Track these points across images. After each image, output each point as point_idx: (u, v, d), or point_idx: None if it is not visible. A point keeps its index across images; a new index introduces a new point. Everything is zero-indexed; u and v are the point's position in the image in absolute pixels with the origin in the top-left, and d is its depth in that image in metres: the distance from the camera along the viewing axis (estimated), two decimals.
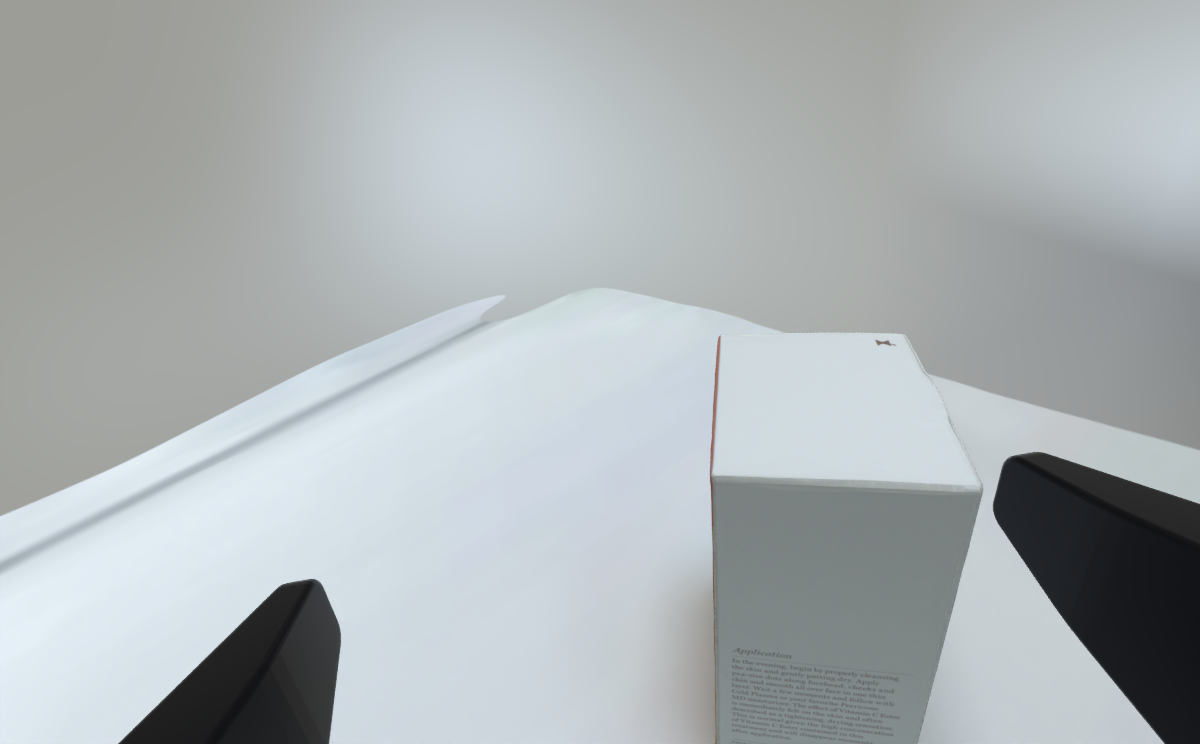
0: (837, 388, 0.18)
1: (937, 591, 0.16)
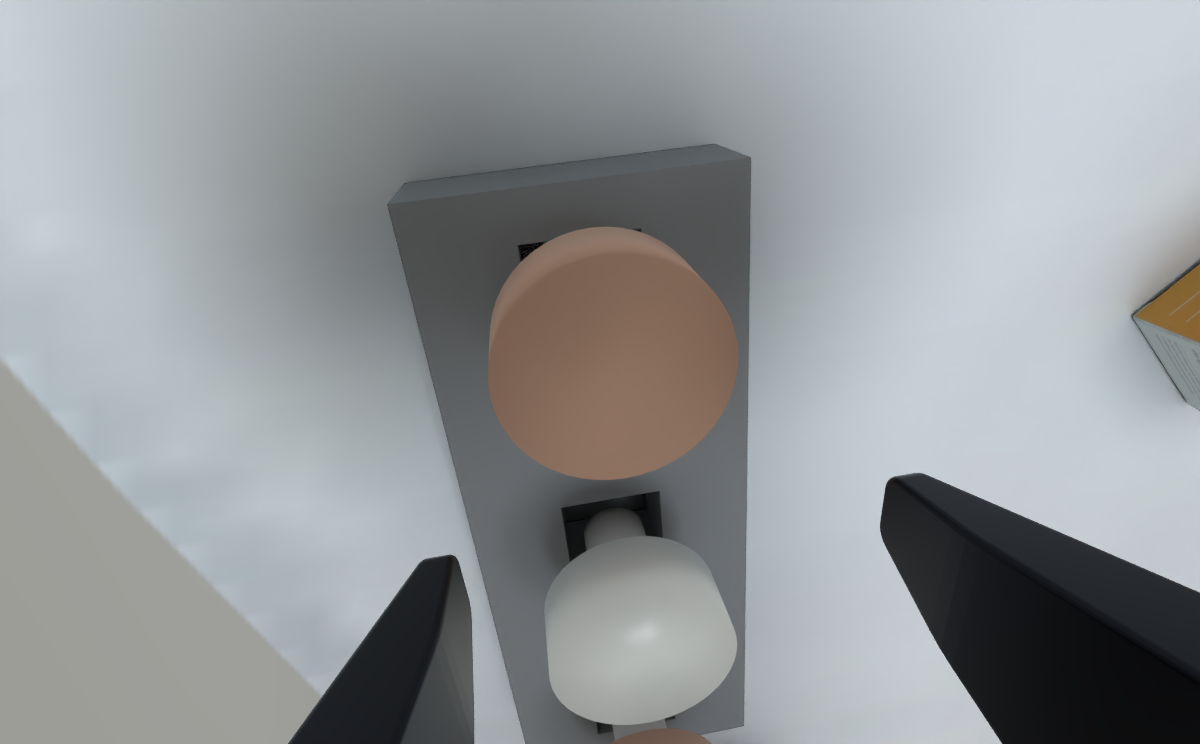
0: None
1: None
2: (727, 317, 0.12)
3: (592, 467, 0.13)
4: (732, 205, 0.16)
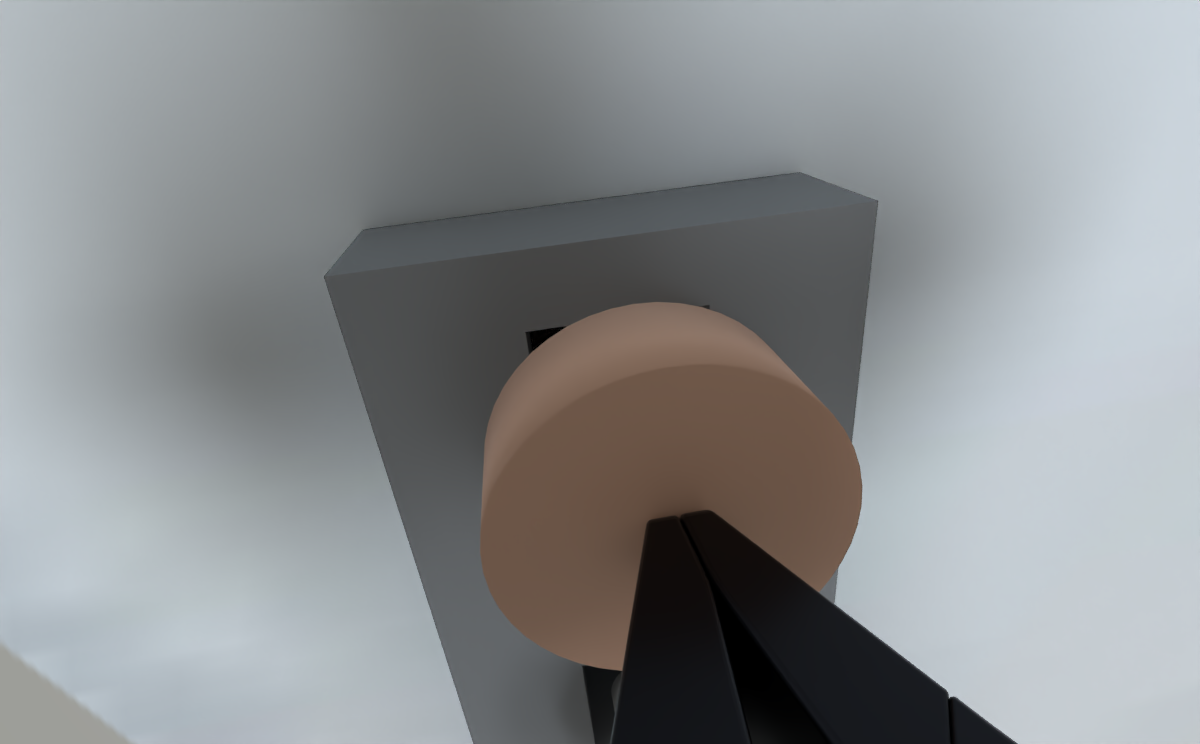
0: None
1: None
2: (851, 452, 0.08)
3: None
4: (844, 270, 0.11)
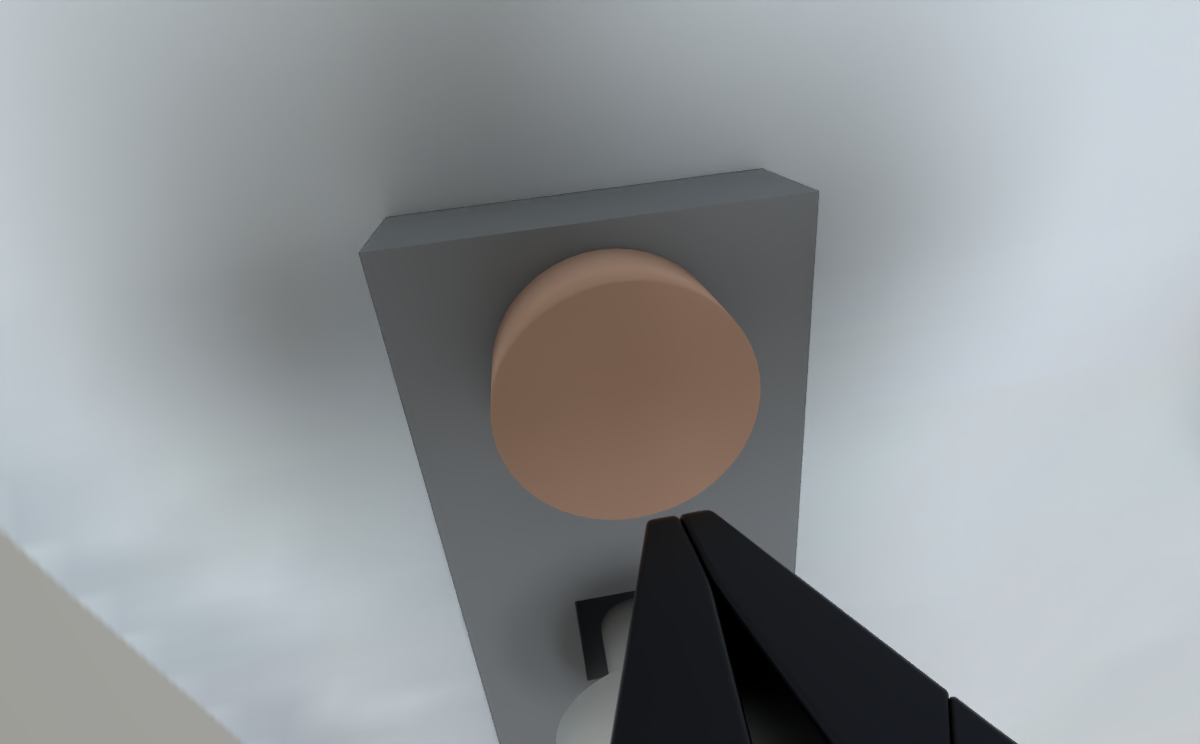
0: None
1: None
2: (749, 348, 0.11)
3: (602, 506, 0.12)
4: (793, 249, 0.13)
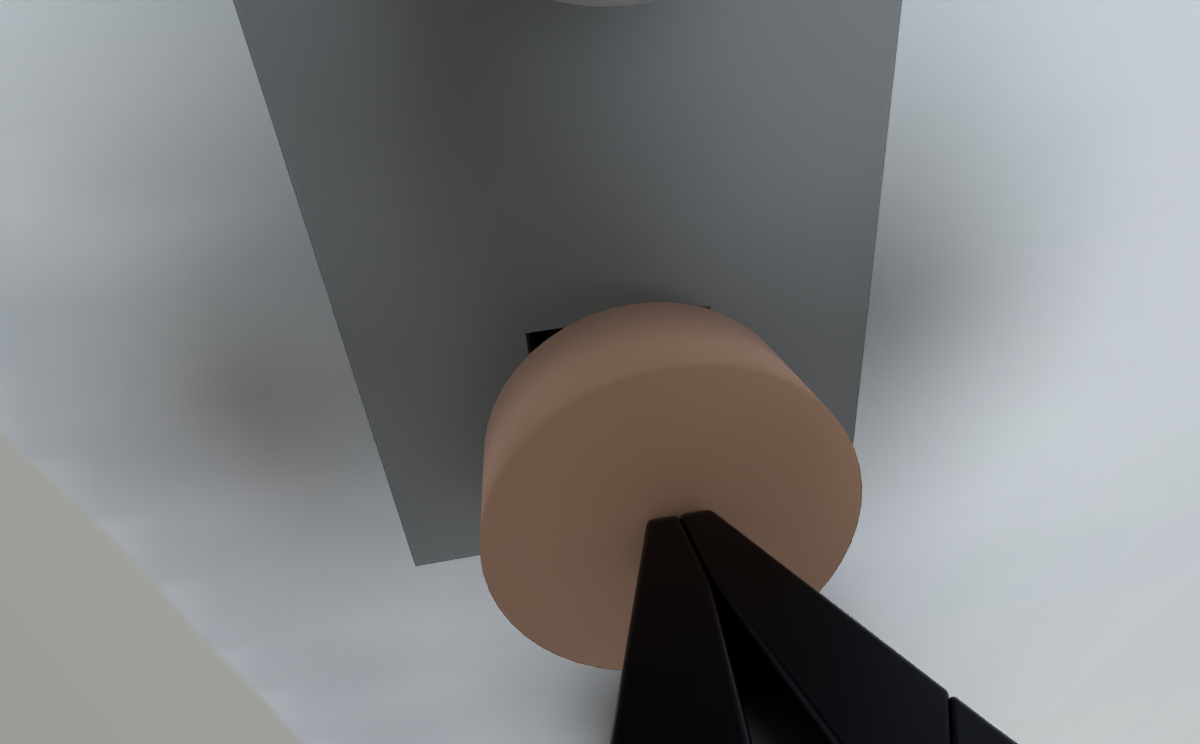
0: None
1: None
2: None
3: None
4: None
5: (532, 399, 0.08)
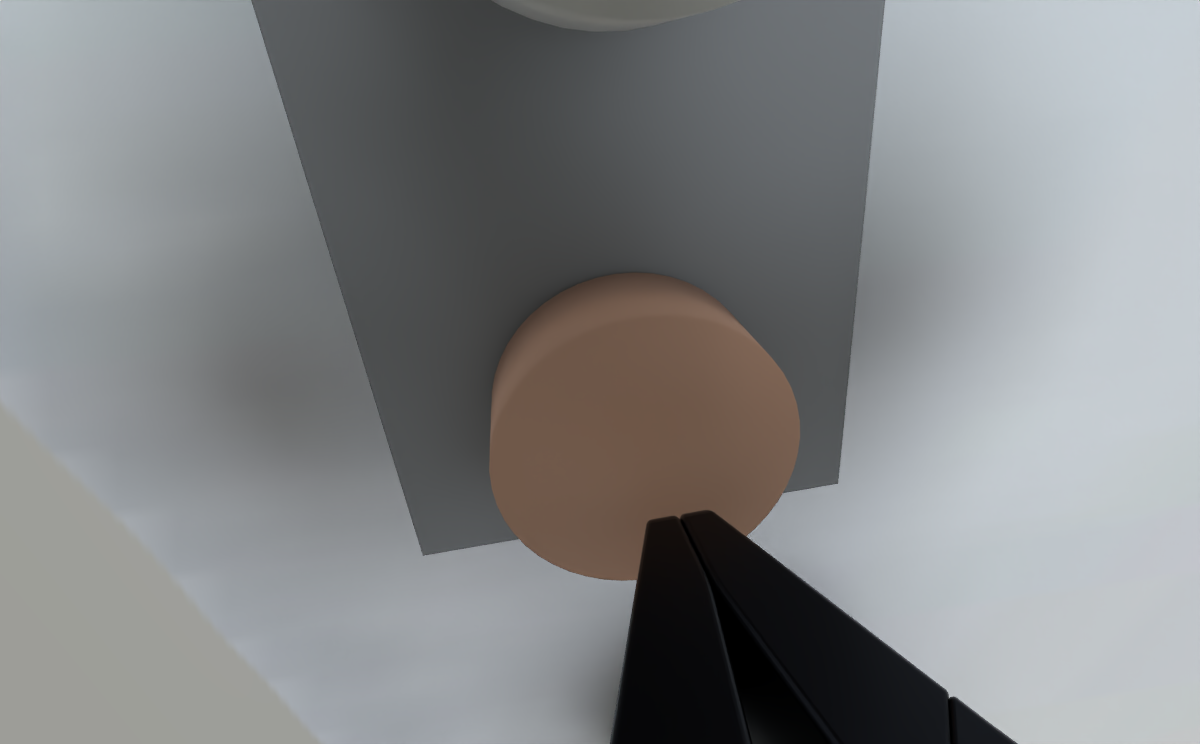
0: None
1: None
2: None
3: None
4: None
5: (531, 347, 0.09)
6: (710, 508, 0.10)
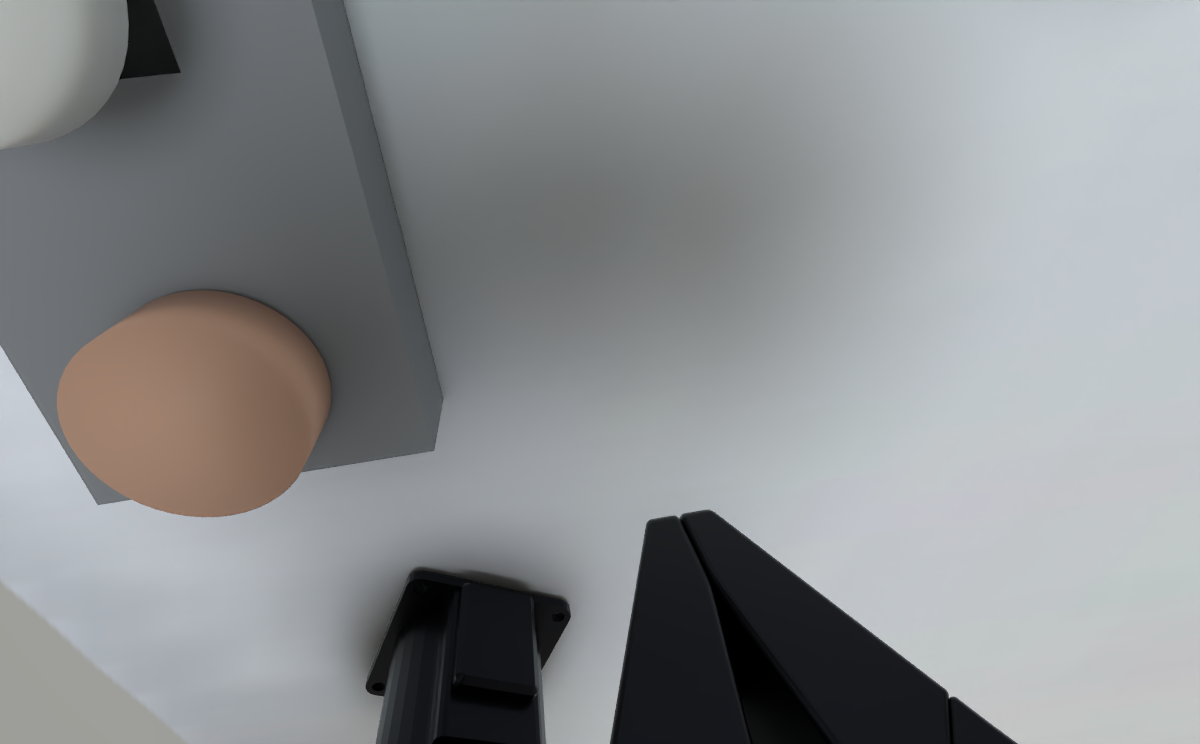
0: None
1: None
2: None
3: None
4: None
5: None
6: (253, 462, 0.14)
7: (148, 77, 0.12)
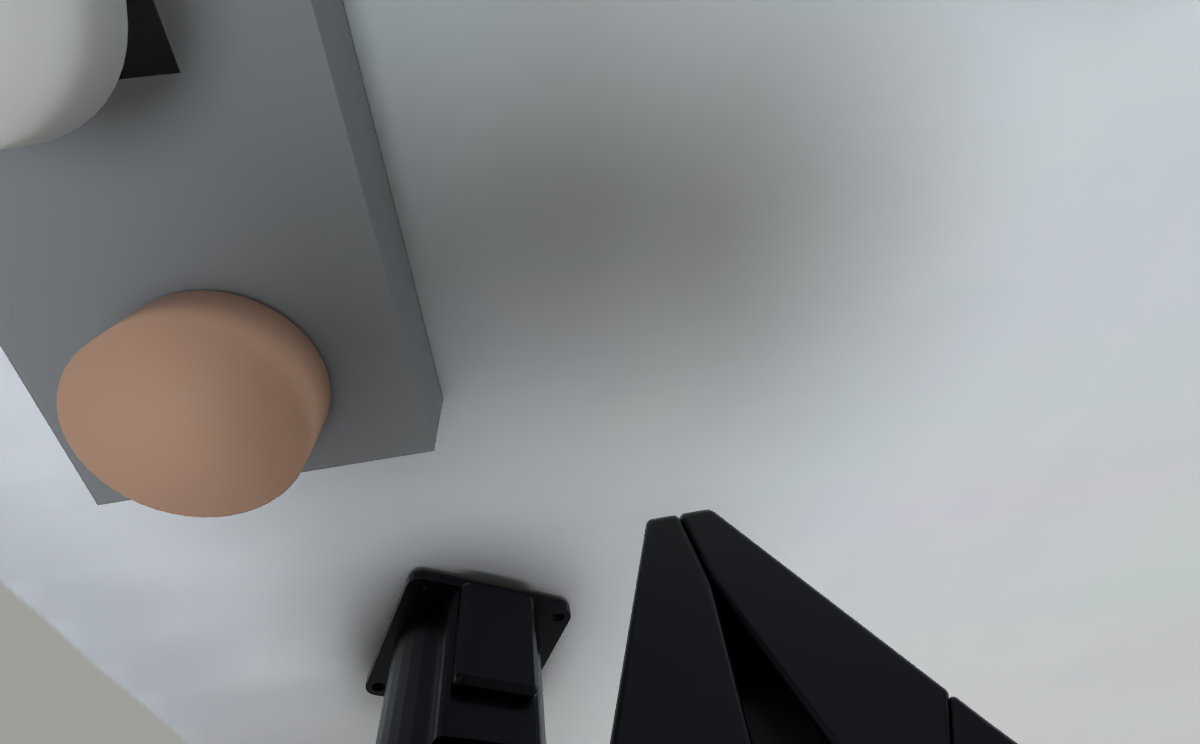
0: None
1: None
2: None
3: None
4: None
5: None
6: (253, 462, 0.14)
7: (148, 77, 0.12)
